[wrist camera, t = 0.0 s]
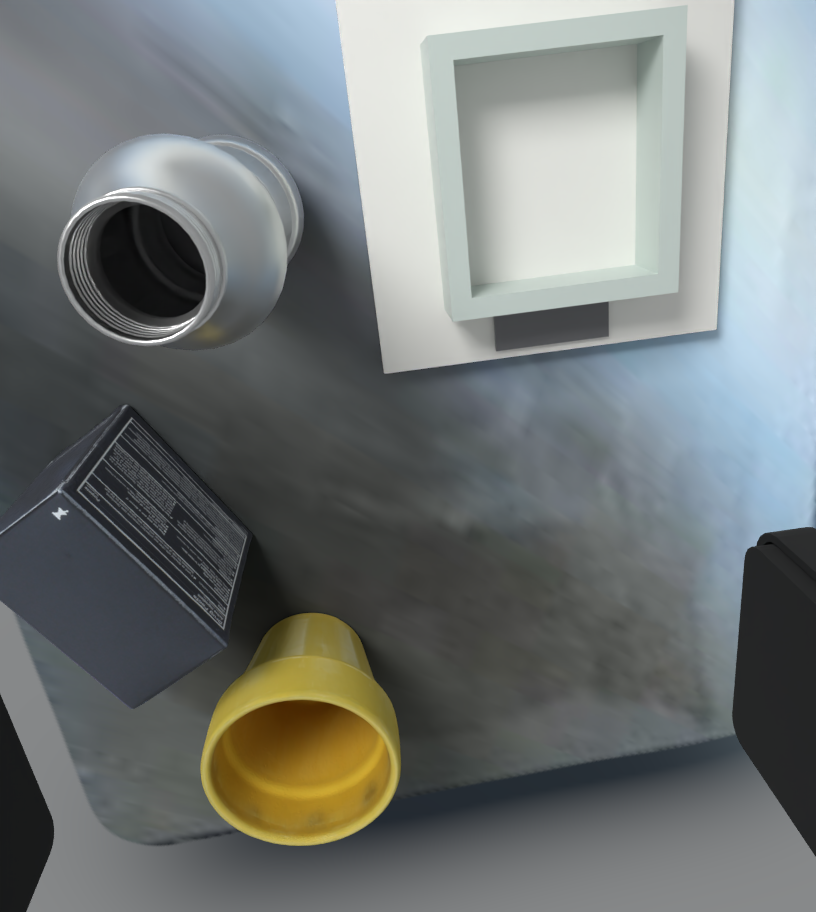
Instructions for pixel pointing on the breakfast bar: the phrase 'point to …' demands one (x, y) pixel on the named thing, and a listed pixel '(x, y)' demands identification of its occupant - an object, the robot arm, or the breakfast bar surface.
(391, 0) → the charging dock
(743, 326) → the breakfast bar surface
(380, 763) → the plant pot
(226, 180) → the metal bottle
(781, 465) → the breakfast bar surface
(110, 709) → the breakfast bar surface
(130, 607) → the small box
